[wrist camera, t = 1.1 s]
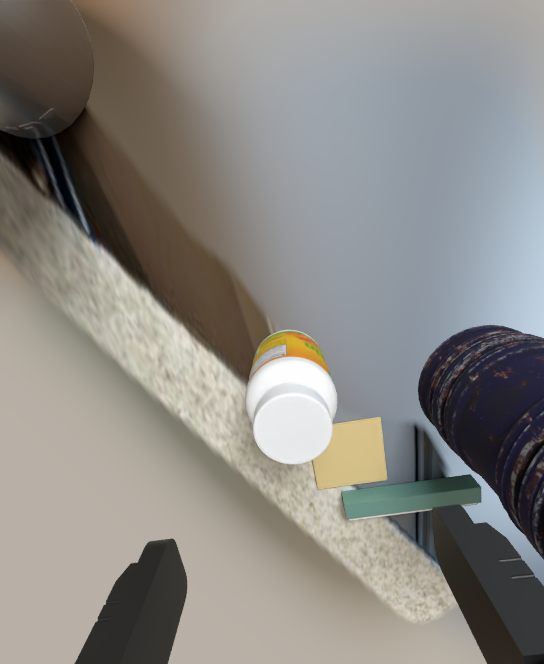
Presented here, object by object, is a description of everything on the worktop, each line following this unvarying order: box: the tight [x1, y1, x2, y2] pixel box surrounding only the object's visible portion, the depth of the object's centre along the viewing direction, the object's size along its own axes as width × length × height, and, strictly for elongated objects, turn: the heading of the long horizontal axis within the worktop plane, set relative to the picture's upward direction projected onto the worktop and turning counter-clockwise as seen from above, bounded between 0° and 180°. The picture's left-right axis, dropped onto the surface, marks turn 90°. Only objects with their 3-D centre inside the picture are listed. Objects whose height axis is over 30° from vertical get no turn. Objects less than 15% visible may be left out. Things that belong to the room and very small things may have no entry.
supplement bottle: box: [245, 330, 337, 465], centre depth 21 cm, size 5×5×10 cm
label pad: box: [313, 417, 387, 489], centre depth 27 cm, size 6×6×1 cm
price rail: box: [342, 475, 481, 521], centre depth 27 cm, size 2×11×2 cm, turn 101°
